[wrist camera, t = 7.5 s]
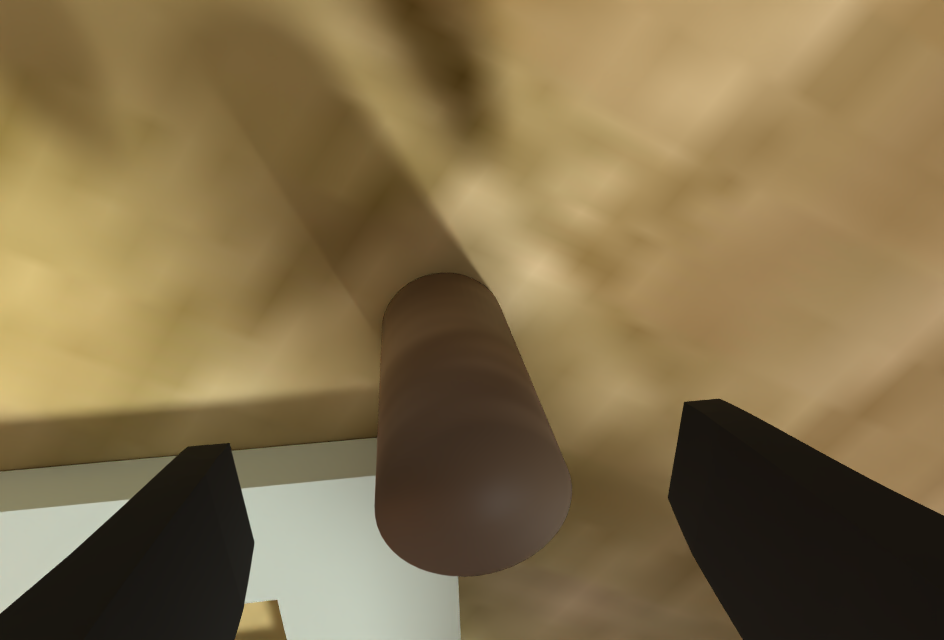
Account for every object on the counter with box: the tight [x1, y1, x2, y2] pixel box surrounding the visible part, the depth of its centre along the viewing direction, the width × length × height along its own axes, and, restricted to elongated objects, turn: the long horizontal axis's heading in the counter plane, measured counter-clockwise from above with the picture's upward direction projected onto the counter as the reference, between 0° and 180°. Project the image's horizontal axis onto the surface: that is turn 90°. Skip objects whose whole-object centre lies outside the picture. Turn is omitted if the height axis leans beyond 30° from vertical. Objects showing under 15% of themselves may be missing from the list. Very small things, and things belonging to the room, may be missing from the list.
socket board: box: [0, 438, 461, 640], centre depth 16 cm, size 14×12×2 cm
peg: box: [374, 273, 572, 577], centre depth 11 cm, size 3×3×6 cm
